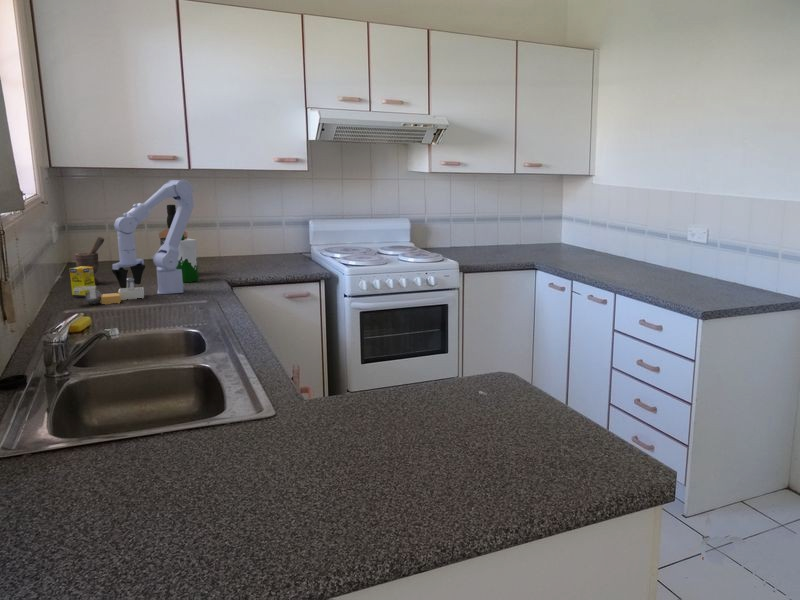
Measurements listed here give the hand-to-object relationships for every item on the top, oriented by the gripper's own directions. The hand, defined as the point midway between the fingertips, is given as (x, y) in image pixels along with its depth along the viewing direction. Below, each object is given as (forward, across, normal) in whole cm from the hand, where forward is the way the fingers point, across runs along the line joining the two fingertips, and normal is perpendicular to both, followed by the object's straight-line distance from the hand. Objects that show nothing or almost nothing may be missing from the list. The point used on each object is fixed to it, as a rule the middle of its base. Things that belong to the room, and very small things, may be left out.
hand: (130, 285), depth 229 cm
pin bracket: (+4, -4, +6) cm, 9 cm away
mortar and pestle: (+5, +20, +35) cm, 40 cm away
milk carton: (+5, +35, 0) cm, 36 cm away
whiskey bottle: (+5, +45, +13) cm, 47 cm away
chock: (+5, -10, +1) cm, 11 cm away
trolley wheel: (+4, -14, +6) cm, 16 cm away
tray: (+4, 0, 0) cm, 4 cm away
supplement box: (+5, -2, +20) cm, 21 cm away
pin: (+4, 0, 0) cm, 4 cm away
